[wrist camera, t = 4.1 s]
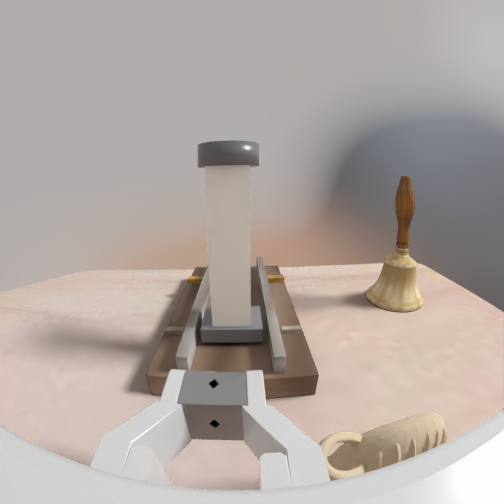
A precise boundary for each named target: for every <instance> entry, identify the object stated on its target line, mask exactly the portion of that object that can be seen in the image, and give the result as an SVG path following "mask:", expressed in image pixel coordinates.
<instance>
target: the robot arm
mask: <svg viewBox="0 0 504 504" xmlns="http://www.w3.org/2000/svg"><path fill="white" fill-rule="evenodd" d="M246 380H247V382H246ZM191 439H206V440H244V442H245V443H246V445H247V446H248V447H249V448H250V450H251V451H252V452H253V453H254V455H255V456H256V457H257V458H258V460H259V461H260V463H259V490H216V489H200V488H189V487H180V486H173V485H172V484H171V482H170V480H169V479H168V477H167V475H166V473H165V472H164V469H165V468H166V467H167V466H168V465H169V464H170V463H171V462H172V461H173V460H174V459H175V458H176V456H177V455H178V454H179V453H180V452H181V451H182V450H183V449H184V448H185V447H186V446H187V445H188V444H189V443H190V442H191ZM0 504H504V408H503V409H502V410H500V411H499V412H497V413H496V414H494V415H493V416H491V417H490V418H488V419H487V420H485V421H483V422H482V423H480V424H478V425H477V426H475V427H473V428H472V429H470V430H468V431H466V432H465V433H463V434H461V435H459V436H457V437H455V438H453V439H452V440H450V441H448V442H446V443H443V444H441V445H439V446H437V447H435V448H433V449H431V450H428V451H426V452H424V453H421V454H419V455H417V456H414V457H412V458H409V459H406V460H404V461H401V462H398V463H395V464H392V465H389V466H386V467H383V468H380V469H377V470H374V471H370V472H367V473H363V474H359V475H355V476H351V477H347V478H343V479H338V480H333V481H330V477H329V473H328V469H327V466H326V462H325V458H324V455H323V451H322V447H321V446H320V445H319V444H317V443H316V442H315V441H314V440H312V439H311V438H310V437H309V436H307V435H306V434H305V433H304V432H302V431H301V430H300V429H299V428H298V427H296V426H295V425H294V424H293V423H292V422H290V421H289V420H288V419H287V418H286V417H285V416H283V415H282V414H281V413H280V412H279V411H278V410H277V409H276V408H274V407H273V406H272V405H266V396H265V387H264V378H263V371H262V370H251V371H247V372H246V371H197V370H179V369H171V370H170V371H169V374H168V377H167V380H166V383H165V386H164V389H163V392H162V395H161V398H160V401H159V402H154V403H152V404H151V405H149V406H148V407H146V408H145V409H144V410H142V411H141V412H139V413H138V414H136V415H135V416H133V417H132V418H130V419H129V420H127V421H126V422H124V423H123V424H121V425H120V426H118V427H117V428H115V429H114V430H112V431H110V432H109V433H107V434H106V435H104V436H103V437H102V440H101V442H100V444H99V446H98V449H97V451H96V453H95V456H94V458H93V461H92V463H91V465H90V466H87V465H84V464H81V463H79V462H76V461H73V460H71V459H68V458H65V457H63V456H60V455H58V454H56V453H53V452H51V451H49V450H47V449H45V448H42V447H40V446H38V445H36V444H34V443H32V442H30V441H28V440H26V439H24V438H22V437H21V436H19V435H17V434H15V433H13V432H12V431H10V430H8V429H7V428H5V427H3V426H2V425H0Z"/></svg>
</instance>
